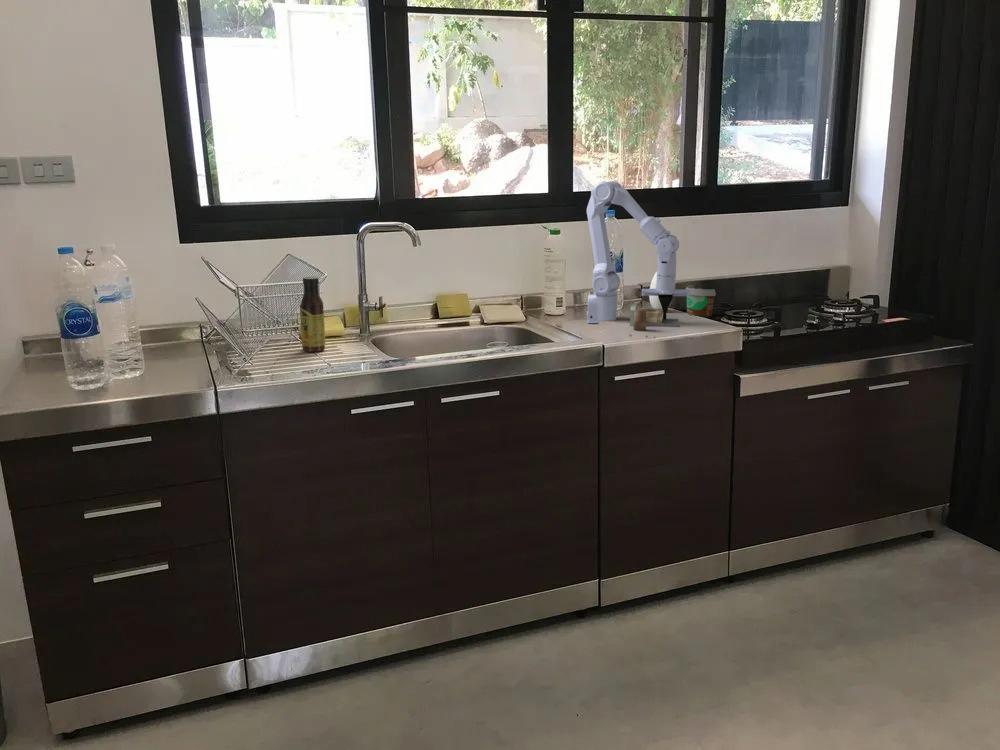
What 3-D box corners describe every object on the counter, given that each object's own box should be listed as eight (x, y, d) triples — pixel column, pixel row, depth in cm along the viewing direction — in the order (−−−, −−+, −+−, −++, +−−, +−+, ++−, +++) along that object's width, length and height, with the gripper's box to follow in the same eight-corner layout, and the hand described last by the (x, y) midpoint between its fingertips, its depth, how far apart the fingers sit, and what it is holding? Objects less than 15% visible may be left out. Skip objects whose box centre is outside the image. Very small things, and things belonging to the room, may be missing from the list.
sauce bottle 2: (676, 312, 285) (679, 259, 281) (659, 314, 281) (661, 261, 277) (661, 309, 292) (663, 257, 287) (644, 311, 288) (646, 259, 283)
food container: (675, 315, 279) (677, 285, 277) (690, 314, 282) (692, 284, 279) (698, 321, 268) (700, 290, 266) (714, 319, 271) (716, 289, 268)
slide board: (629, 329, 254) (630, 310, 253) (630, 322, 266) (630, 304, 264) (679, 330, 252) (680, 311, 251) (677, 324, 264) (678, 305, 262)
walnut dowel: (633, 334, 247) (634, 311, 245) (633, 332, 250) (634, 309, 248) (645, 334, 246) (646, 311, 244) (645, 332, 250) (646, 309, 248)
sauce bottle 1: (300, 349, 227) (296, 276, 222) (323, 347, 229) (320, 275, 224) (304, 353, 221) (299, 279, 216) (327, 352, 223) (323, 278, 218)
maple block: (635, 324, 256) (635, 312, 255) (635, 320, 263) (635, 308, 262) (661, 325, 254) (662, 312, 254) (661, 321, 262) (661, 308, 261)
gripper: (642, 276, 252) (640, 320, 255) (691, 277, 250) (689, 321, 253) (642, 273, 259) (640, 317, 262) (689, 274, 256) (687, 317, 260)
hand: (664, 319), depth 258 cm, fingers closed
